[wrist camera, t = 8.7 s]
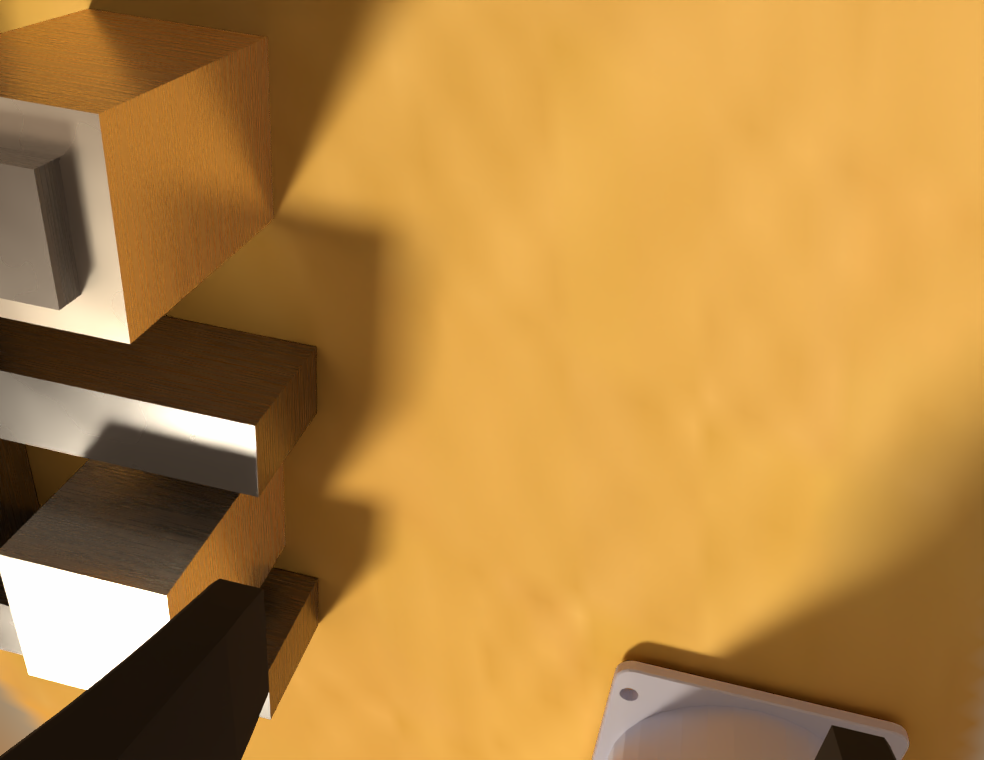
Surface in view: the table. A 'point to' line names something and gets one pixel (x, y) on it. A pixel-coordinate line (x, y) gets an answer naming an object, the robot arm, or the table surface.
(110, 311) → the block
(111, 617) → the seated block
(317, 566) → the table surface
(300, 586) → the rail
